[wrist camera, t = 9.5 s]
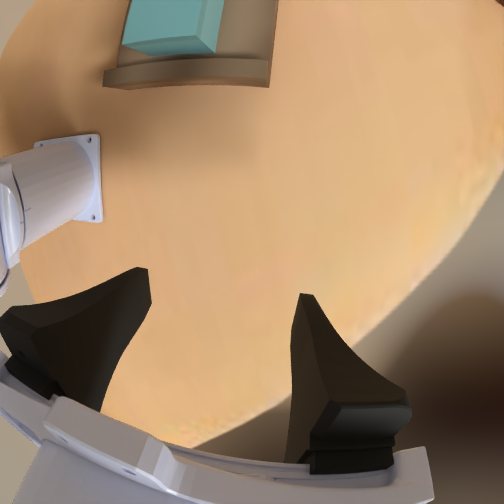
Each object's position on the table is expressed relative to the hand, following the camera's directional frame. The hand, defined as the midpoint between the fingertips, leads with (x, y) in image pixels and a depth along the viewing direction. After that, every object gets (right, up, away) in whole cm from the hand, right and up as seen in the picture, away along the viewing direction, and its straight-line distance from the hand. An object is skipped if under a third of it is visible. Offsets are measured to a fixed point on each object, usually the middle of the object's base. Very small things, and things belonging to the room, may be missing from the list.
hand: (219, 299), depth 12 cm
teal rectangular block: (-2, +20, -1) cm, 20 cm away
